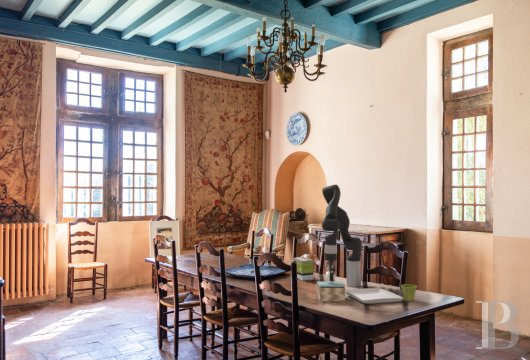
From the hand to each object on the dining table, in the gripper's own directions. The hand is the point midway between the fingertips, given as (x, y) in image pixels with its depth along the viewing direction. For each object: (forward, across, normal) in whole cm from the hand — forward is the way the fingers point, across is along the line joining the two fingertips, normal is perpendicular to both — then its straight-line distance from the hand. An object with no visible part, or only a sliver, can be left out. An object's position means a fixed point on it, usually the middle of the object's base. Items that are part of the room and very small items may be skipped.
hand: (330, 280), depth 282 cm
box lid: (+3, 0, 0) cm, 3 cm away
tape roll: (+1, 0, 0) cm, 1 cm away
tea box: (+12, +64, +10) cm, 66 cm away
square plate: (+12, 0, -25) cm, 28 cm away
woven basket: (+11, 0, 0) cm, 11 cm away
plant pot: (+12, -4, -46) cm, 48 cm away
